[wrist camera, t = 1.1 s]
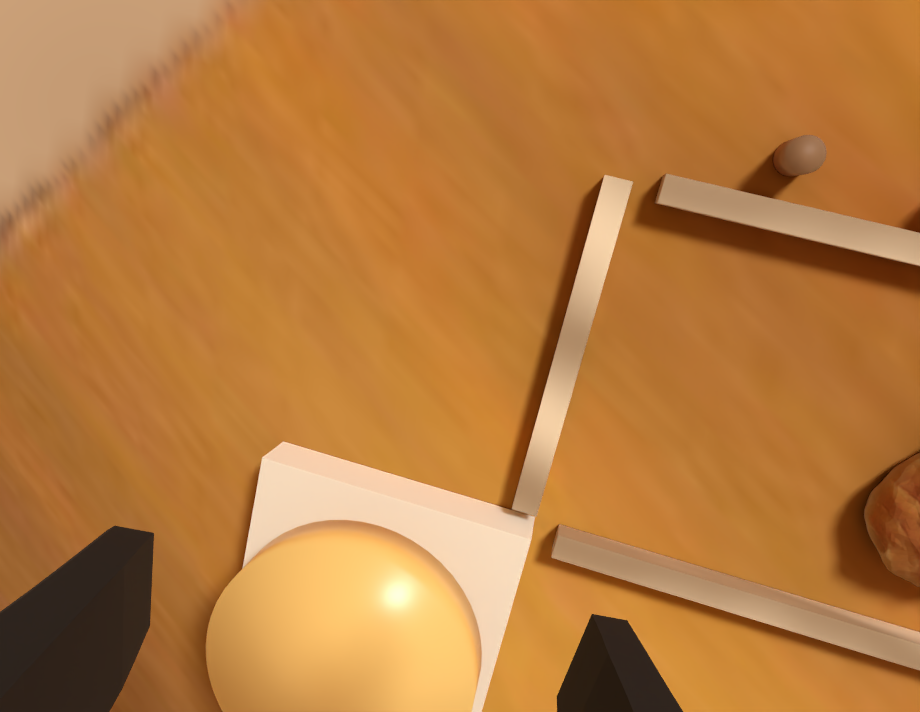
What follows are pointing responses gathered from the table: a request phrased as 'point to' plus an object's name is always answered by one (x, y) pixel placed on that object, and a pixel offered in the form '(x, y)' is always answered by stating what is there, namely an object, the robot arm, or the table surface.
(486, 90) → the table surface
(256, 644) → the dome
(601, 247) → the lane
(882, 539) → the pastry
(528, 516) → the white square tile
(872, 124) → the table surface
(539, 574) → the table surface
